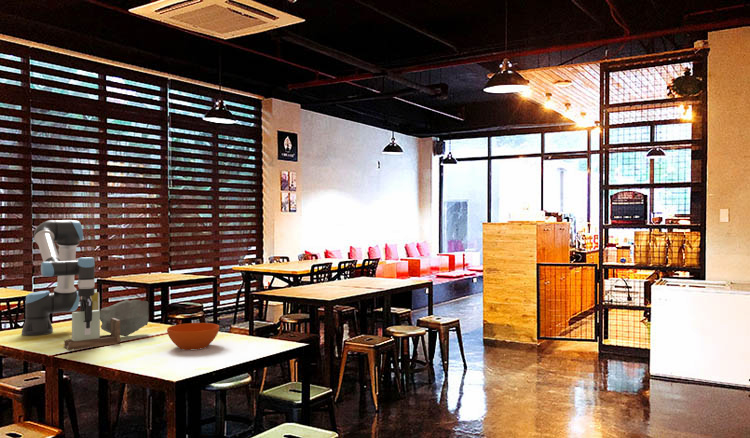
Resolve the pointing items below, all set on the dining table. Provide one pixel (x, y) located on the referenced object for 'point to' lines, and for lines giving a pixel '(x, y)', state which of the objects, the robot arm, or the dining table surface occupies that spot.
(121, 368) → the dining table surface
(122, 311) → the rock
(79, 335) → the door panel
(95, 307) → the juice carton
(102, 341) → the track
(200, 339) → the bowl
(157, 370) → the dining table surface
